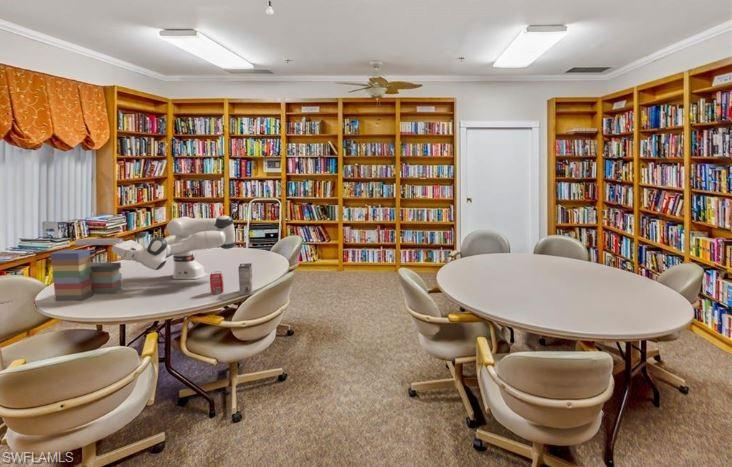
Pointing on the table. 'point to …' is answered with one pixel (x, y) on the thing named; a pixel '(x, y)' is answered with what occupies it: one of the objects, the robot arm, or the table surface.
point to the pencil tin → (97, 241)
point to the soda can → (216, 282)
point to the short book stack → (105, 278)
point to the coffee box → (245, 278)
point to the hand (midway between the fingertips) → (113, 240)
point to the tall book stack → (71, 275)
